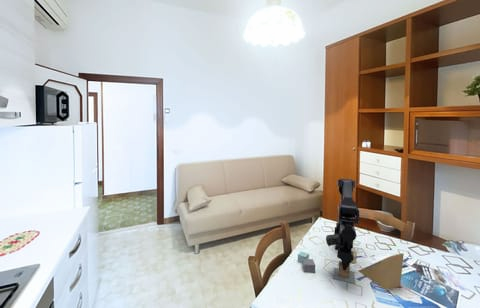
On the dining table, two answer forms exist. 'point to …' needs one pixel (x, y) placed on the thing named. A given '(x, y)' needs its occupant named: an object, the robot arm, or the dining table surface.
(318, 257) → the dining table surface
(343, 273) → the walnut block
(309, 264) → the charcoal block
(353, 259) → the beech cylinder
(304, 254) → the teal block
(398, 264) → the sandwich container
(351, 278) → the felt pad
